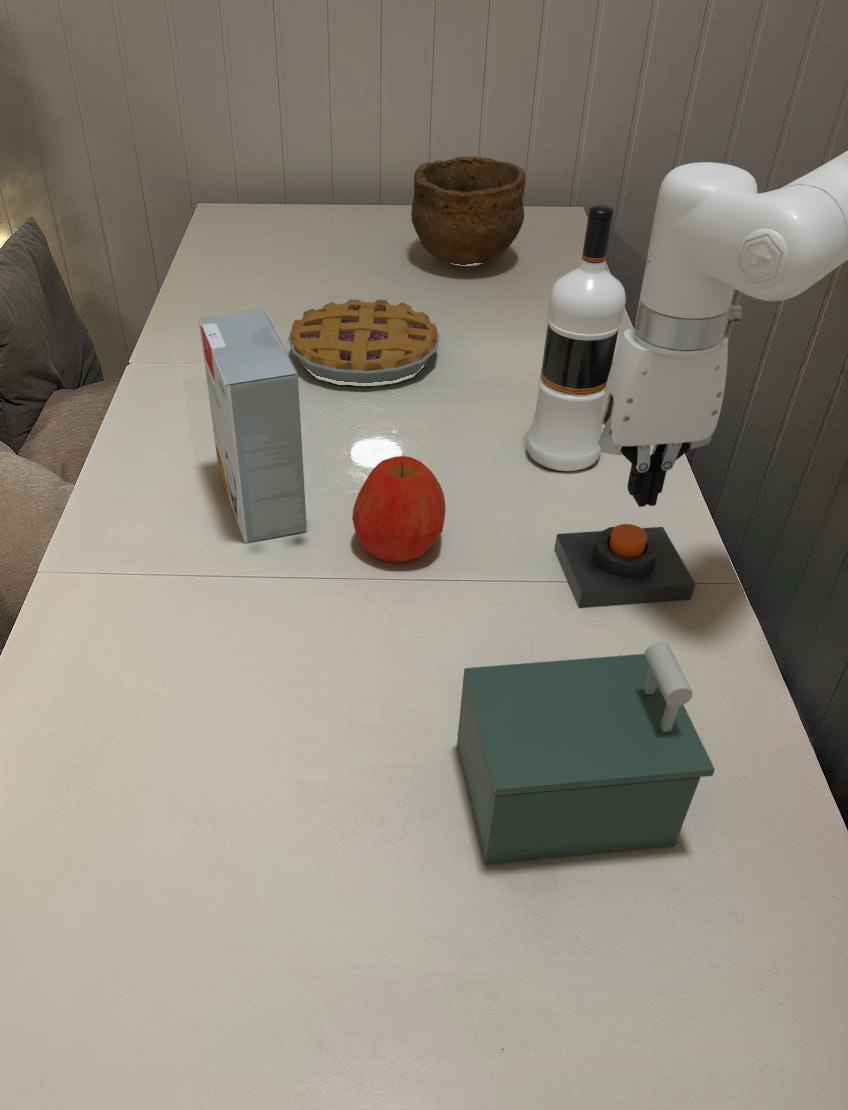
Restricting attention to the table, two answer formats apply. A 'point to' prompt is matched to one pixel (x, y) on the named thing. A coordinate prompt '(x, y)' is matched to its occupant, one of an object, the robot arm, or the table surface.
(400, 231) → the table surface
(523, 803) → the hinged box
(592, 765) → the box lid
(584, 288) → the vodka
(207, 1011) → the table surface
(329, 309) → the pie
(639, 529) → the release button
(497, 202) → the bowl
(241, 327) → the hard drive box
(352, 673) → the table surface
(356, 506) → the apple
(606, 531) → the control block
